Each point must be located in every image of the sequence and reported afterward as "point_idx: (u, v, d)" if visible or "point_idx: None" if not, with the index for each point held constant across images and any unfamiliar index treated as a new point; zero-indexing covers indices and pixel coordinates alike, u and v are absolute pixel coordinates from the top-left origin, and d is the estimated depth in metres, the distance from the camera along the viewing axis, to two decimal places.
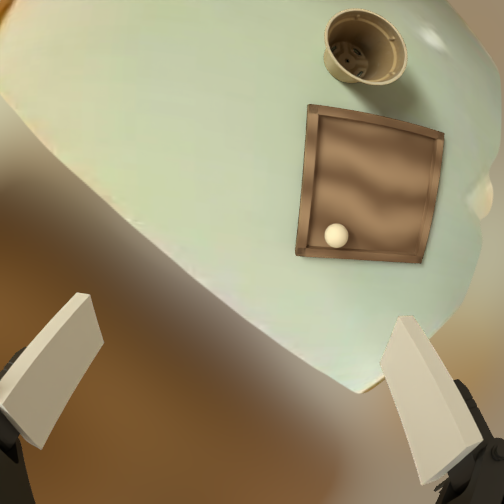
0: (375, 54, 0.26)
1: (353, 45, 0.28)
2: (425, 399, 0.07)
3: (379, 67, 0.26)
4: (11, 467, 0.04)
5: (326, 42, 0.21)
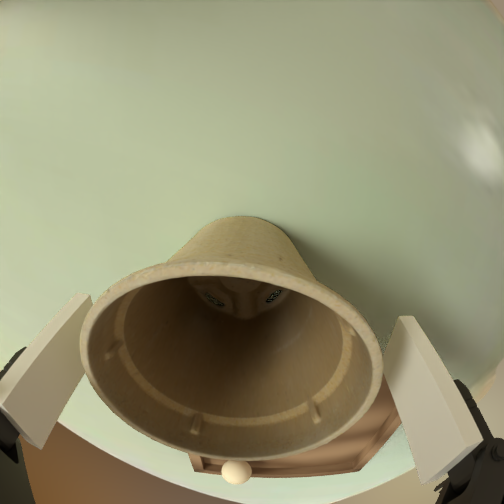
0: None
1: None
2: (425, 399, 0.07)
3: (310, 325, 0.12)
4: (11, 467, 0.04)
5: (99, 394, 0.08)
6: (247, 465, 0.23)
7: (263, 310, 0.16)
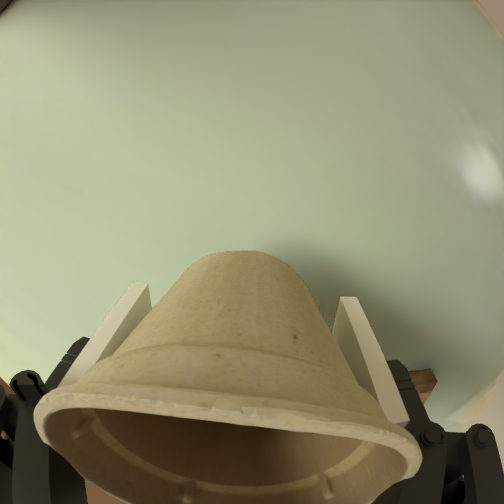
0: None
1: None
2: (356, 375, 0.08)
3: None
4: (69, 469, 0.05)
5: None
6: None
7: None
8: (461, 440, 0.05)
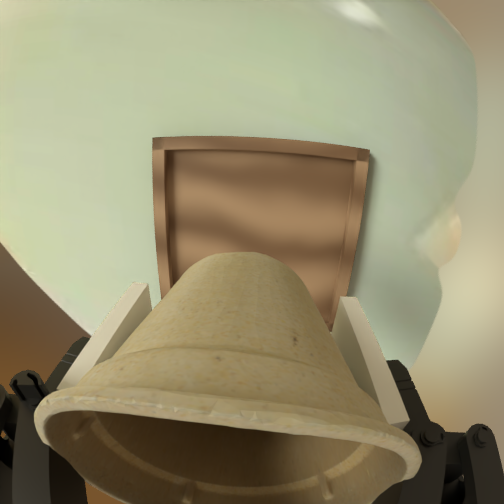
0: None
1: None
2: (356, 375, 0.08)
3: None
4: (70, 469, 0.05)
5: None
6: None
7: None
8: (461, 440, 0.05)
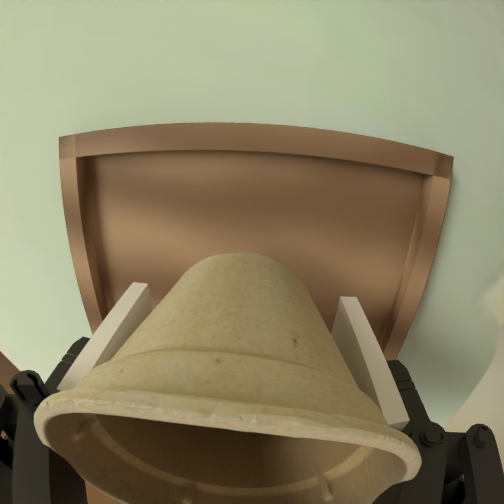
0: None
1: None
2: (356, 375, 0.08)
3: None
4: (70, 469, 0.05)
5: None
6: None
7: None
8: (461, 440, 0.05)
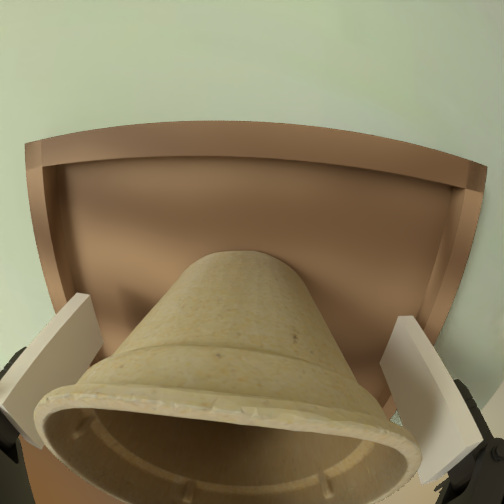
0: None
1: None
2: (425, 399, 0.07)
3: None
4: (11, 467, 0.04)
5: (73, 471, 0.05)
6: None
7: None
8: None
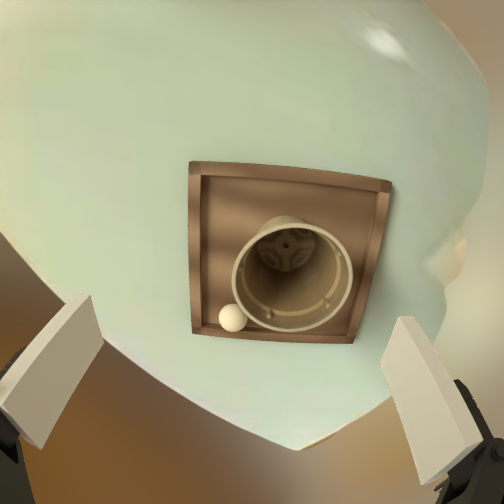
0: (321, 244, 0.26)
1: None
2: (425, 399, 0.07)
3: (321, 267, 0.26)
4: (11, 467, 0.04)
5: (233, 288, 0.22)
6: None
7: (295, 267, 0.30)
8: None
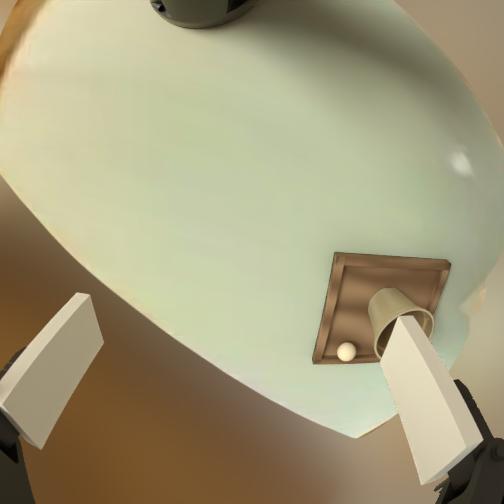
0: None
1: None
2: (425, 399, 0.07)
3: None
4: (11, 467, 0.04)
5: (375, 343, 0.33)
6: (353, 345, 0.42)
7: None
8: None
